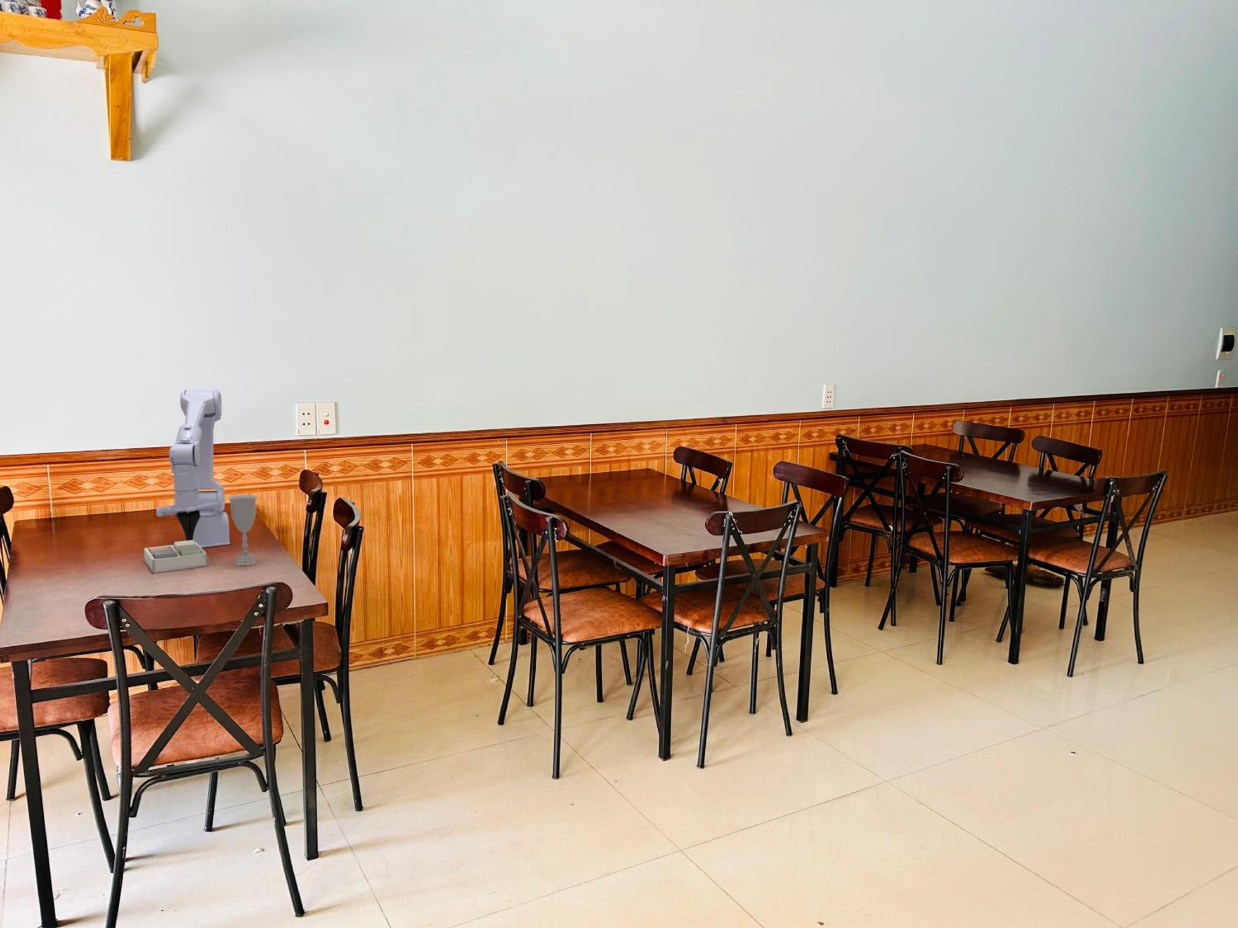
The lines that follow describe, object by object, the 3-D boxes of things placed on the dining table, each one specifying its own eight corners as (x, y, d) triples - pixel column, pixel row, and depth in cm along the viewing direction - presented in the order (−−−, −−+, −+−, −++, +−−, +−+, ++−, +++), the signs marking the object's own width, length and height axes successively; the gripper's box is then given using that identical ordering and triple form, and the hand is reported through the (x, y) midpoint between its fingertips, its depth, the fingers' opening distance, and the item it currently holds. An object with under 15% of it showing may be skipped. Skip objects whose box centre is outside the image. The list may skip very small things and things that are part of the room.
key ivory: (193, 548, 246) (192, 539, 246) (196, 552, 243) (196, 543, 242) (174, 550, 244) (174, 542, 243) (177, 555, 240) (177, 546, 240)
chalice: (265, 561, 244) (263, 496, 241) (247, 567, 238) (244, 501, 235) (243, 557, 246) (240, 493, 243) (225, 564, 240) (222, 498, 237)
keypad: (196, 554, 248) (196, 541, 248) (207, 566, 238) (206, 553, 237) (144, 560, 241) (143, 548, 240) (153, 573, 231) (152, 560, 230)
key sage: (197, 554, 242) (197, 545, 241) (201, 558, 238) (201, 549, 238) (179, 556, 239) (178, 547, 238) (182, 560, 235) (182, 551, 235)
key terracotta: (168, 554, 243) (168, 546, 243) (171, 559, 239) (171, 550, 239) (149, 557, 240) (149, 548, 240) (152, 561, 237) (152, 552, 236)
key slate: (172, 557, 238) (172, 548, 238) (176, 561, 234) (175, 552, 234) (153, 559, 235) (153, 550, 235) (156, 564, 232) (156, 554, 231)
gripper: (158, 494, 228) (161, 546, 230) (219, 489, 236) (222, 539, 239) (153, 489, 233) (156, 540, 236) (213, 484, 242) (216, 533, 244)
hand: (189, 539), depth 238 cm, fingers closed
